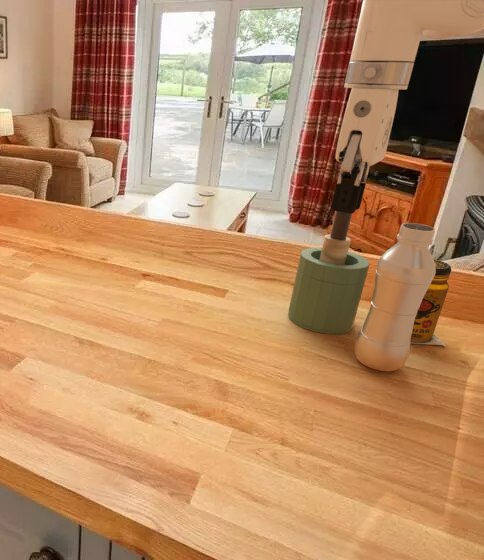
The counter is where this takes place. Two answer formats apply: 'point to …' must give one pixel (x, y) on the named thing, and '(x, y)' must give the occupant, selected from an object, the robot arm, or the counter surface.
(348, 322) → the green hollow cylinder cup
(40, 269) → the counter surface
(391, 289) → the plastic bottle
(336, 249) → the brush
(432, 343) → the condiment
